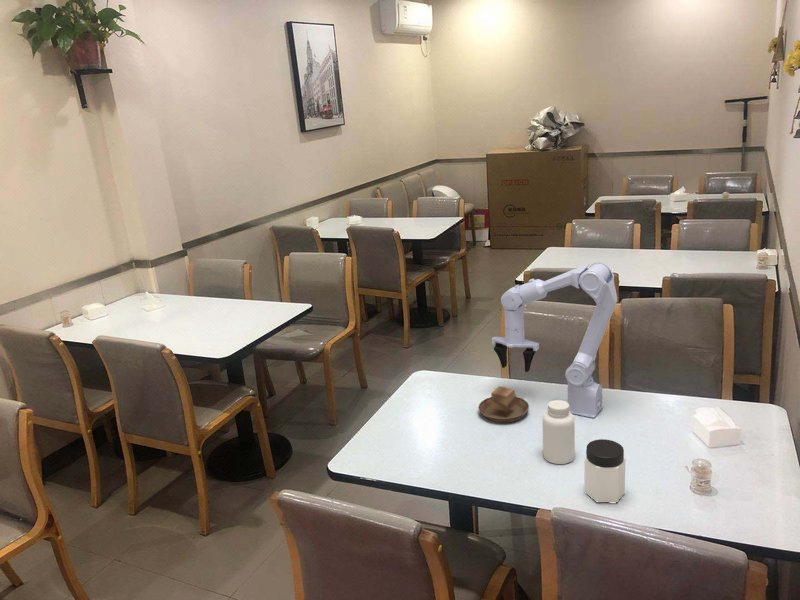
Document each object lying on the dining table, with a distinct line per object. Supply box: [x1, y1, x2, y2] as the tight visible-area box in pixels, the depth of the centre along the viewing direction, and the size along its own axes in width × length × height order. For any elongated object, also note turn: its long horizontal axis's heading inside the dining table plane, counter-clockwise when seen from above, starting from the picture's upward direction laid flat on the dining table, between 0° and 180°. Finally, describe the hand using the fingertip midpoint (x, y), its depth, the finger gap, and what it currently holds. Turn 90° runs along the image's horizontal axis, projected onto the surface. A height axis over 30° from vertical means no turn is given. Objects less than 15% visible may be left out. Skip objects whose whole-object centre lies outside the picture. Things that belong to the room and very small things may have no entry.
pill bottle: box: [541, 399, 576, 465], centre depth 161 cm, size 8×8×15 cm
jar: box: [583, 438, 626, 503], centre depth 145 cm, size 9×8×12 cm
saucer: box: [478, 395, 530, 423], centre depth 187 cm, size 15×15×3 cm
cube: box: [490, 385, 516, 412], centre depth 186 cm, size 5×5×5 cm
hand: (515, 368), depth 193 cm, fingers open, 7 cm apart
